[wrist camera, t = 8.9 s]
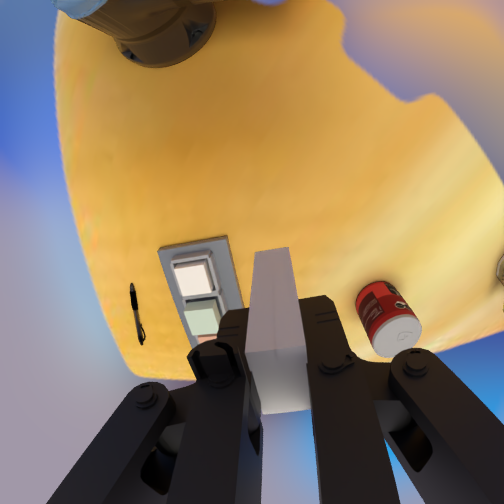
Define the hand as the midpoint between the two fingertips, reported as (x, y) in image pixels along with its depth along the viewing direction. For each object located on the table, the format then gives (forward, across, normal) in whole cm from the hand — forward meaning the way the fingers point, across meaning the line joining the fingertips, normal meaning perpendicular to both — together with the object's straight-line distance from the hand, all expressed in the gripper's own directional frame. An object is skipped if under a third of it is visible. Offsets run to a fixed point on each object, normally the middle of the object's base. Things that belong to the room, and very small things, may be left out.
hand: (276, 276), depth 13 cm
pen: (+29, -28, -19) cm, 44 cm away
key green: (+25, -13, -17) cm, 33 cm away
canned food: (+29, +15, -22) cm, 39 cm away
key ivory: (+26, -13, -11) cm, 31 cm away
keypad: (+28, -13, -17) cm, 36 cm away
